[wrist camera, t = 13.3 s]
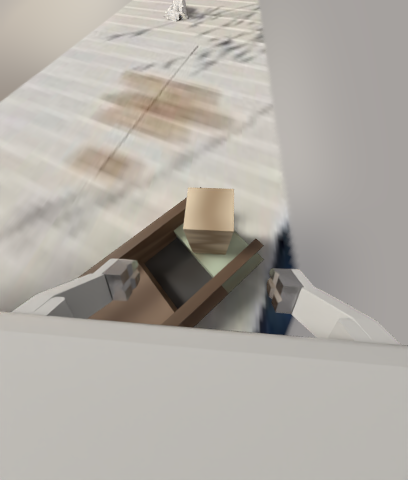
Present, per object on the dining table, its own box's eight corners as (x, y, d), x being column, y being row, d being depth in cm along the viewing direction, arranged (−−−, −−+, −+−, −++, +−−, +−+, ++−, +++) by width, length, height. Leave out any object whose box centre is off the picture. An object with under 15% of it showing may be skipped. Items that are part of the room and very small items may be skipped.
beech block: (192, 252, 21) (182, 229, 14) (195, 223, 23) (188, 187, 15) (225, 254, 21) (233, 231, 14) (226, 224, 23) (233, 189, 15)
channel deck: (73, 300, 23) (28, 301, 17) (198, 205, 27) (194, 181, 22) (121, 394, 19) (82, 436, 13) (257, 263, 23) (272, 253, 18)
